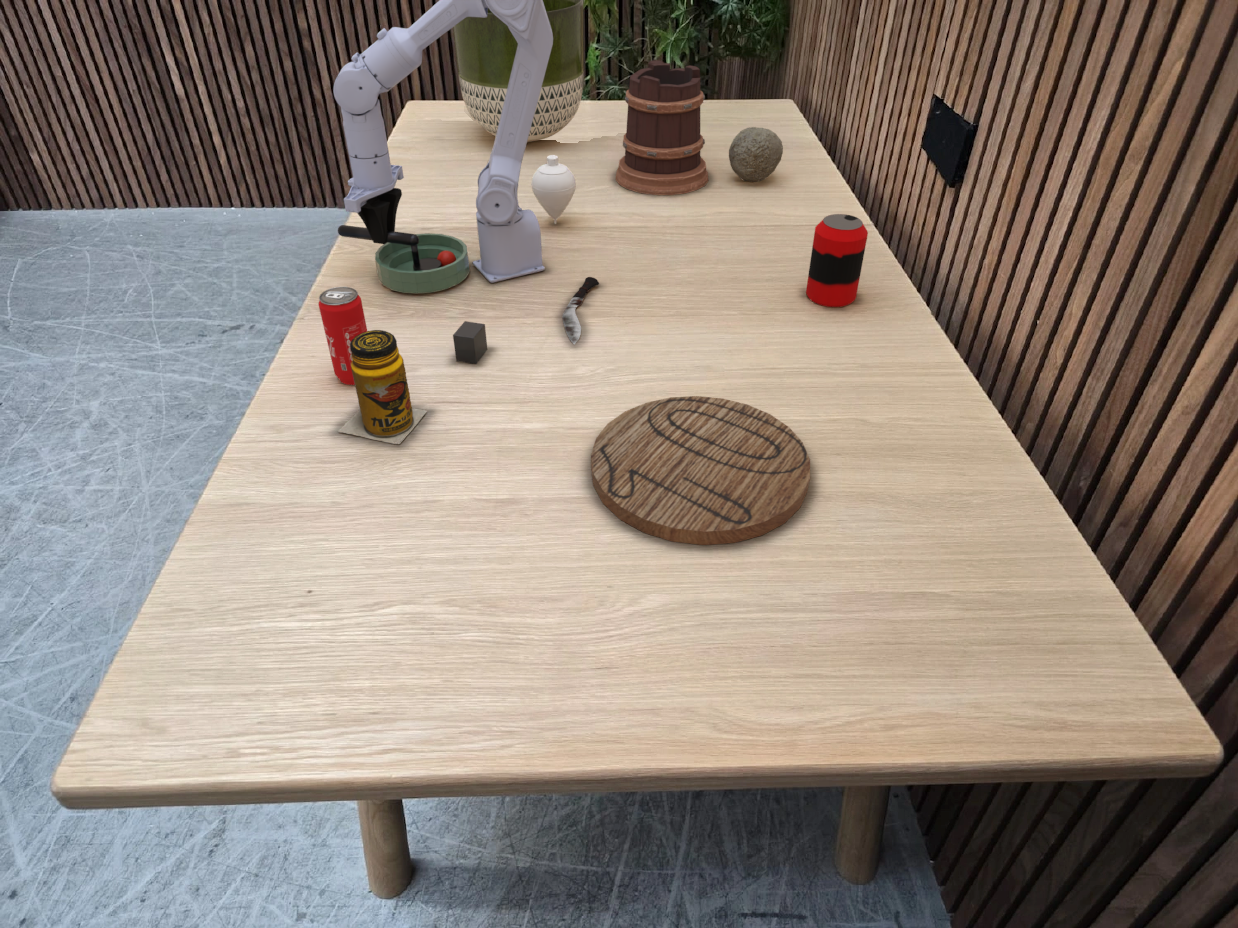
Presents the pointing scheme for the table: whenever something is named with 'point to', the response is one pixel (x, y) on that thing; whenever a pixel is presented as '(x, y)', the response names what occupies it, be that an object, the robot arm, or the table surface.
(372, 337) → the condiment
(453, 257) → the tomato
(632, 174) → the brown wooden barrel
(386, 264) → the bowl
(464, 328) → the dark grey cube
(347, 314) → the beverage can
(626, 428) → the trivet
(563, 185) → the spinning top
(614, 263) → the table surface
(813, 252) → the soda can
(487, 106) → the planter
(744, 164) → the decorative stone
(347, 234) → the crank handle
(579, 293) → the knife
